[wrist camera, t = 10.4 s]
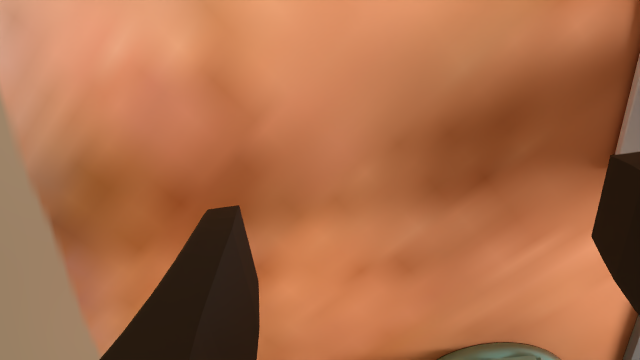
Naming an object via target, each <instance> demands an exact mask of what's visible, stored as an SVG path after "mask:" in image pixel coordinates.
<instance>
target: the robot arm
mask: <svg viewBox="0 0 640 360" xmlns="http://www.w3.org/2000/svg"><path fill="white" fill-rule="evenodd" d="M591 237H592V239H593V241H594V243H595V245H596V247H597V249H598V251H599V253H600V255H601V257H602V259H603V261H604V263H605V264H606V266H607V268H608V270H609V272H610V273H611V275H612V277H613V279H614V281H615V282H616V284H617V285H618V286H619V288H620V289H621V291H622V292H623V294H624V295H625V296H626V298H627V299H628V301H629V302H630V303H631V305H632V306H633V308H634V309H635V310H636V312H637V313H638V315H639V316H640V55H639V59H638V63H637V67H636V71H635V75H634V79H633V83H632V87H631V91H630V95H629V99H628V103H627V107H626V111H625V115H624V119H623V124H622V128H621V132H620V136H619V140H618V144H617V148H616V152H615V155H611V156H610V160H609V164H608V168H607V172H606V177H605V181H604V185H603V189H602V194H601V198H600V202H599V206H598V211H597V215H596V219H595V223H594V227H593V232H592V236H591ZM258 338H259V285H258V277H257V273H256V270H255V266H254V262H253V258H252V254H251V250H250V246H249V242H248V238H247V235H246V231H245V227H244V223H243V219H242V215H241V211H240V207H239V205H238V206H231V207H223V208H216V209H208V210H207V211H206V213H205V214H204V215H203V217H202V218H201V220H200V222H199V223H198V225H197V226H196V228H195V230H194V231H193V233H192V234H191V236H190V238H189V239H188V241H187V242H186V244H185V246H184V247H183V249H182V250H181V252H180V253H179V255H178V256H177V258H176V260H175V261H174V263H173V264H172V265H171V267H170V268H169V270H168V271H167V273H166V274H165V276H164V277H163V279H162V280H161V282H160V283H159V285H158V286H157V287H156V289H155V290H154V292H153V293H152V294H151V296H150V297H149V299H148V300H147V301H146V302H145V304H144V305H143V306H142V308H141V309H140V310H139V312H138V313H137V314H136V316H135V317H134V318H133V320H132V321H131V322H130V323H129V325H128V326H127V327H126V329H125V330H124V331H123V332H122V334H121V335H120V336H119V337H118V339H117V340H116V341H115V342H114V343H113V345H112V346H111V347H110V348H109V349H108V351H107V352H106V353H105V354H104V355H103V356H102V357H101V359H100V360H256V359H257V349H258Z"/></svg>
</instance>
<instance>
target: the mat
mask: <svg viewBox="0 0 640 360" xmlns="http://www.w3.org/2000/svg"><path fill="white" fill-rule="evenodd" d="M623 360H640V316H639V315H638V317H637V320H636V323H635V326H634V329H633V332H632V334H631V337H630V340H629V343H628V346H627V349H626V352H625V355H624V358H623Z"/></svg>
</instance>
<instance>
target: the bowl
mask: <svg viewBox="0 0 640 360" xmlns="http://www.w3.org/2000/svg"><path fill="white" fill-rule="evenodd" d="M437 360H561V359H560V358H558V357H557V356H556V355H554V354H553V353H551V352H549V351H547V350H544V349H542V348H539V347H535V346H531V345H527V344H520V343H489V344H481V345H477V346H472V347H468V348H464V349H461V350H458V351H455V352H452V353H450V354H447V355H445V356H443V357H441V358H439V359H437Z"/></svg>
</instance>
